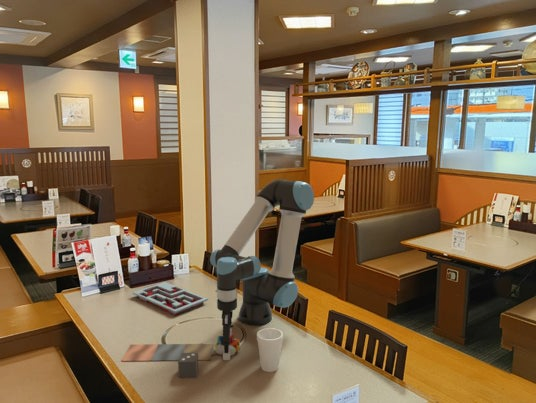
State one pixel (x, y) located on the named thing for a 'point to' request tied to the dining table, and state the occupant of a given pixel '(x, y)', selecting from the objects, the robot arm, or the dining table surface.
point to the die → (188, 365)
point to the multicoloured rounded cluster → (233, 345)
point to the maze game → (170, 298)
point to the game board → (167, 352)
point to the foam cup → (269, 348)
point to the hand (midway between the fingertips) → (227, 351)
